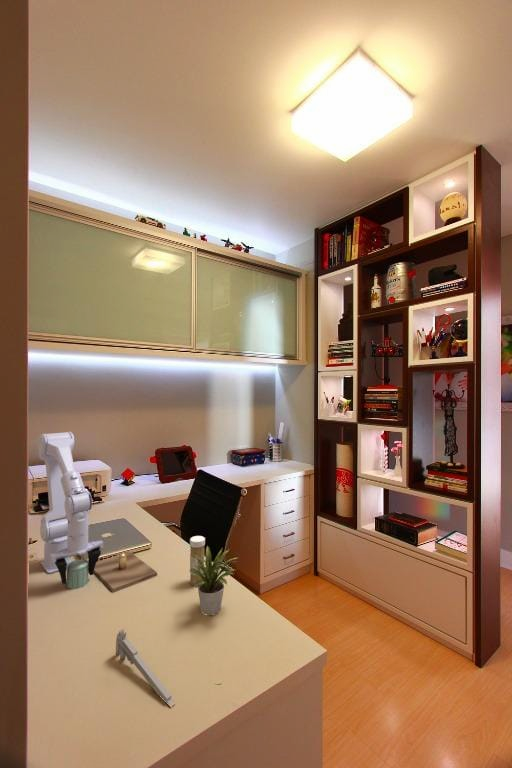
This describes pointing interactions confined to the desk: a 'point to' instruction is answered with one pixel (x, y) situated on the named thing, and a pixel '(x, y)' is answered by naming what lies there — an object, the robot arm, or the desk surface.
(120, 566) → the tan cylinder
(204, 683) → the desk surface
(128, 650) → the caliper
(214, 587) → the house plant
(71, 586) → the cap
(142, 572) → the walnut board
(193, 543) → the sprinkles bottle
